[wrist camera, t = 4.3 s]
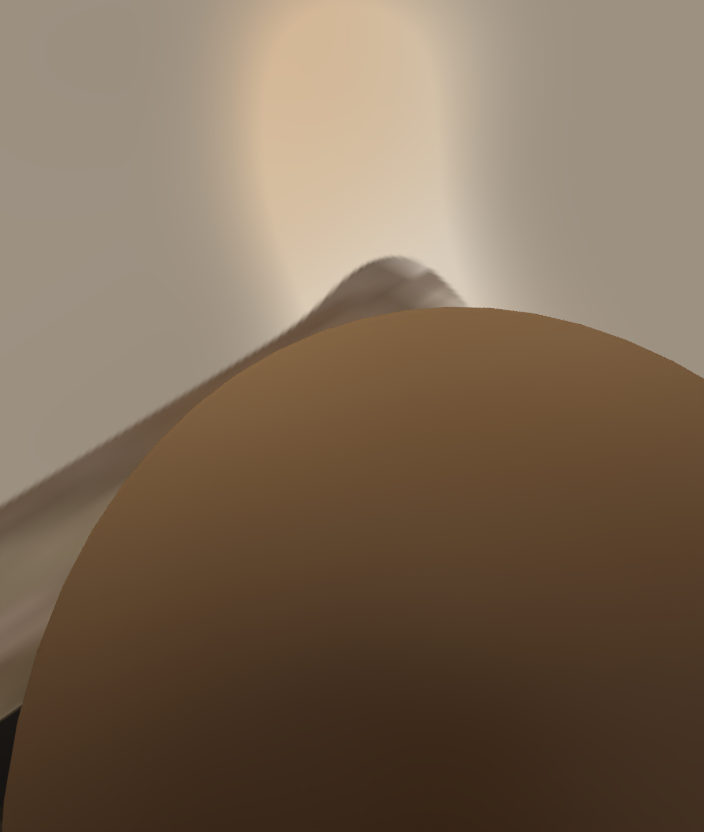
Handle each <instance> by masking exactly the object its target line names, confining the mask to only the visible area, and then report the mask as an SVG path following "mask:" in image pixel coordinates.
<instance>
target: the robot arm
mask: <svg viewBox="0 0 704 832" xmlns="http://www.w3.org/2000/svg"><path fill="white" fill-rule="evenodd" d="M21 707H22V705H21V706H19V707H18V708H16V709H15V710H14V711H12V712H11V713H9V714H8V715H6V716H5V717H3V718H2V719H1V720H0V832H2V822H3V807H4V798H5V792H6V786H7V780H8V774H9V768H10V763H11V757H12V751H13V745H14V739H15V734H16V728H17V722H18V718H19V715H20V711H21Z"/></svg>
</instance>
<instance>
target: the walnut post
mask: <svg viewBox="0 0 704 832" xmlns="http://www.w3.org/2000/svg"><path fill="white" fill-rule="evenodd" d="M2 832H704V379H703V378H701V377H699V376H698V375H696V374H694V373H693V372H691V371H689V370H687V369H686V368H684V367H682V366H681V365H679V364H677V363H675V362H674V361H671V360H669V359H667V358H665V357H662V356H660V355H658V354H656V353H654V352H652V351H649V350H647V349H645V348H643V347H641V346H638V345H636V344H634V343H632V342H629V341H627V340H625V339H622V338H619V337H616V336H613V335H610V334H607V333H604V332H601V331H598V330H596V329H592V328H590V327H586V326H584V325H581V324H576V323H572V322H568V321H564V320H560V319H555V318H551V317H547V316H543V315H538V314H533V313H525V312H517V311H509V310H502V309H494V308H466V307H441V308H429V309H418V310H407V311H399V312H394V313H389V314H384V315H379V316H374V317H369V318H364V319H359V320H356V321H353V322H350V323H346V324H343V325H340V326H337V327H334V328H331V329H328V330H325V331H321V332H318V333H316V334H313V335H311V336H309V337H307V338H305V339H302V340H300V341H298V342H296V343H293V344H291V345H289V346H287V347H285V348H282V349H280V350H278V351H276V352H274V353H272V354H271V355H269V356H267V357H266V358H264V359H262V360H261V361H259V362H257V363H255V364H254V365H252V366H250V367H249V368H247V369H245V370H244V371H242V372H240V373H239V374H237V375H235V376H234V377H233V378H231V379H230V380H229V381H227V382H226V383H225V384H223V385H222V386H221V387H220V388H218V389H217V390H216V391H214V392H213V393H212V394H210V395H209V396H208V397H206V398H205V399H204V400H202V401H201V402H200V403H198V404H197V405H196V406H195V407H194V408H193V409H192V410H191V411H190V412H189V413H188V414H187V415H186V416H184V417H183V418H182V419H181V420H180V421H179V422H178V423H177V424H176V425H175V426H174V427H173V428H172V429H171V430H170V431H169V432H168V433H167V434H166V435H165V436H164V437H162V438H161V439H160V440H159V442H158V443H157V444H156V445H155V446H154V447H153V449H152V450H151V451H150V452H149V453H148V455H147V456H146V457H145V458H144V459H143V461H142V462H141V463H140V464H139V465H138V467H137V468H136V469H135V470H134V471H133V472H132V474H131V475H130V476H129V477H128V478H127V480H126V481H125V482H124V484H123V485H122V486H121V488H120V489H119V491H118V492H117V494H116V495H115V497H114V498H113V500H112V501H111V503H110V504H109V506H108V507H107V509H106V510H105V512H104V513H103V515H102V516H101V518H100V519H99V521H98V522H97V524H96V525H95V527H94V528H93V530H92V532H91V533H90V535H89V537H88V539H87V541H86V543H85V545H84V547H83V549H82V551H81V553H80V554H79V556H78V558H77V560H76V562H75V564H74V566H73V568H72V570H71V572H70V574H69V575H68V577H67V579H66V581H65V583H64V585H63V587H62V590H61V592H60V595H59V597H58V600H57V602H56V605H55V607H54V610H53V612H52V615H51V617H50V620H49V622H48V625H47V627H46V630H45V633H44V635H43V638H42V640H41V643H40V645H39V648H38V650H37V654H36V657H35V661H34V665H33V668H32V672H31V675H30V679H29V682H28V686H27V690H26V693H25V697H24V700H23V704H22V707H21V711H20V715H19V718H18V722H17V728H16V734H15V739H14V745H13V751H12V757H11V763H10V768H9V774H8V780H7V786H6V792H5V798H4V807H3V822H2Z"/></svg>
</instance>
